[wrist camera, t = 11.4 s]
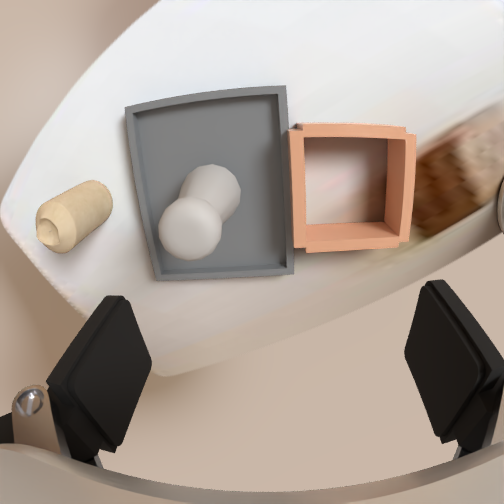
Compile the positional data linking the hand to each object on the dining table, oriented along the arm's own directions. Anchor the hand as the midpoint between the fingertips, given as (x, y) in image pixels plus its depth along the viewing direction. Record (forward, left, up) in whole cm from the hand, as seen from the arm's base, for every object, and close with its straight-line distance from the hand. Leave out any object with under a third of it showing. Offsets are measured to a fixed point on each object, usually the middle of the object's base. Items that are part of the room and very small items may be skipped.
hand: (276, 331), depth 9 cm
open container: (-9, +1, -24) cm, 26 cm away
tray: (+5, +1, -24) cm, 25 cm away
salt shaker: (+5, +1, -23) cm, 24 cm away
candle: (+20, +1, -24) cm, 32 cm away
